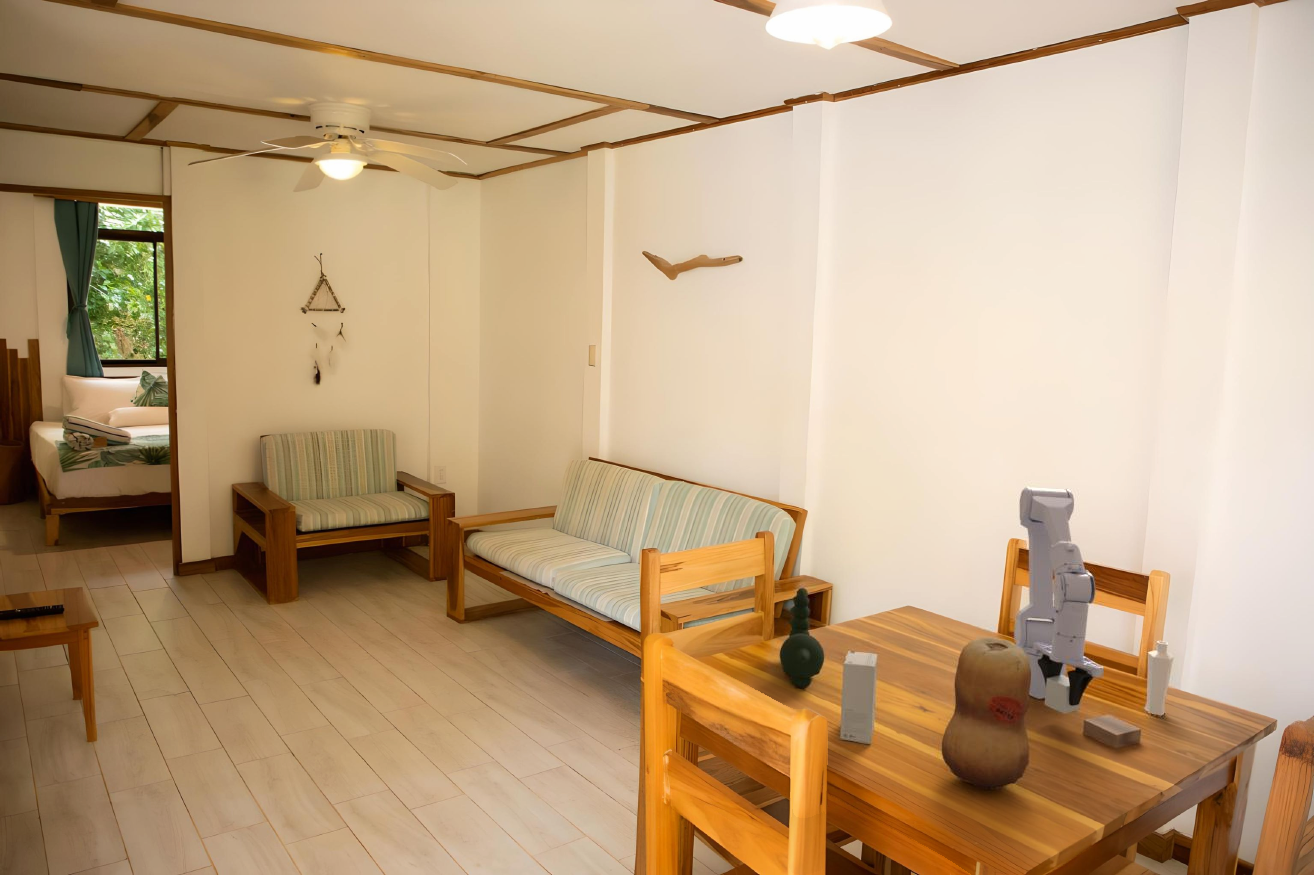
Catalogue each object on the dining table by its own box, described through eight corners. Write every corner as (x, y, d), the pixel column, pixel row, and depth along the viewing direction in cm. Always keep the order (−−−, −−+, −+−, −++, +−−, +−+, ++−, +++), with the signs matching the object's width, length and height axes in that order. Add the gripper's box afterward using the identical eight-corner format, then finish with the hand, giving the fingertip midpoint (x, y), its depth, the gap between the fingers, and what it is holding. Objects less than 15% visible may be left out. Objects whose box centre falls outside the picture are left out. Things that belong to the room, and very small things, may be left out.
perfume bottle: (1166, 710, 185) (1174, 640, 183) (1168, 718, 181) (1176, 647, 179) (1141, 705, 187) (1148, 637, 185) (1143, 713, 183) (1150, 643, 181)
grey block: (1059, 700, 179) (1062, 674, 178) (1079, 709, 175) (1082, 682, 174) (1044, 704, 177) (1046, 678, 176) (1064, 713, 173) (1066, 686, 172)
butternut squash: (957, 804, 144) (970, 655, 141) (928, 764, 157) (939, 627, 154) (1041, 805, 144) (1055, 657, 142) (1005, 765, 158) (1017, 629, 155)
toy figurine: (777, 662, 208) (778, 695, 183) (781, 582, 208) (783, 604, 183) (817, 666, 207) (824, 699, 182) (822, 585, 207) (830, 607, 182)
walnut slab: (1106, 728, 176) (1108, 714, 175) (1139, 743, 170) (1141, 729, 169) (1082, 734, 173) (1084, 719, 172) (1115, 750, 166) (1116, 734, 166)
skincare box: (871, 745, 164) (876, 667, 162) (837, 739, 165) (842, 662, 164) (874, 727, 171) (879, 652, 170) (842, 721, 173) (847, 648, 172)
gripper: (1024, 624, 179) (1018, 688, 180) (1089, 648, 166) (1081, 717, 168) (1048, 619, 182) (1042, 683, 184) (1113, 643, 169) (1106, 711, 171)
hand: (1062, 699), depth 176 cm, fingers closed on grey block, 4 cm apart
